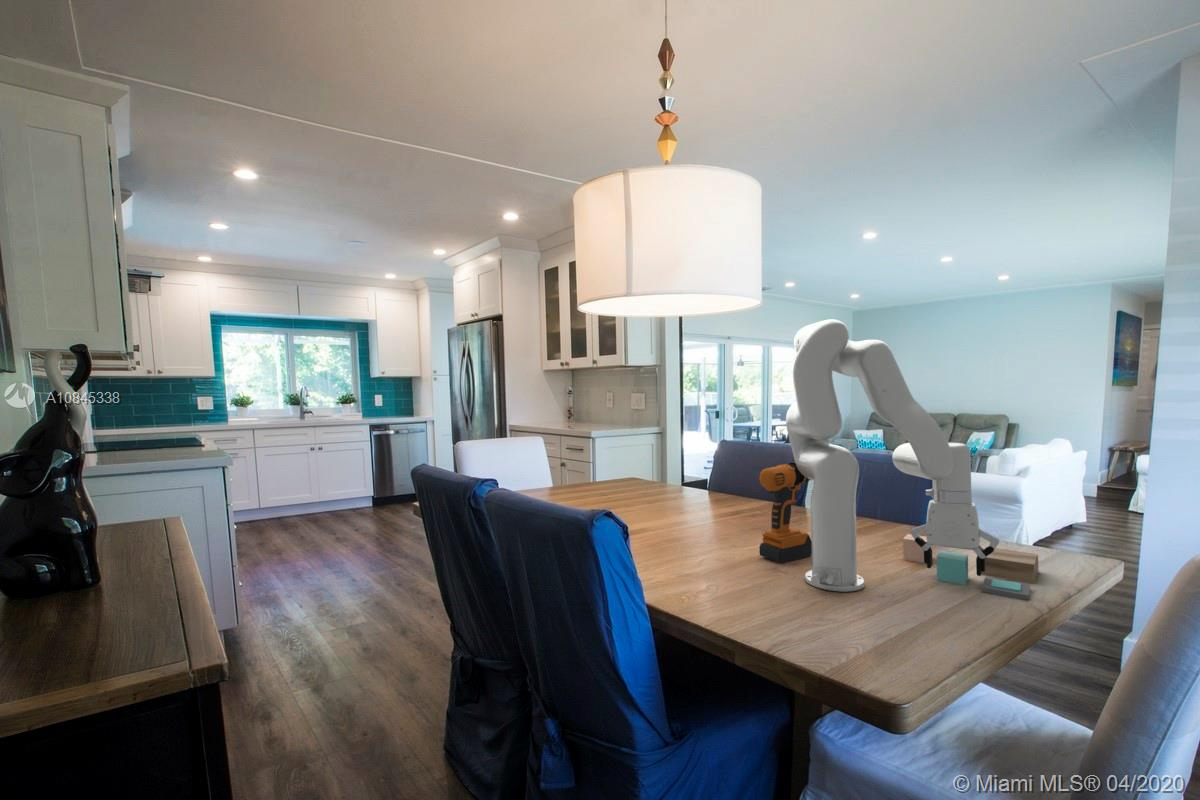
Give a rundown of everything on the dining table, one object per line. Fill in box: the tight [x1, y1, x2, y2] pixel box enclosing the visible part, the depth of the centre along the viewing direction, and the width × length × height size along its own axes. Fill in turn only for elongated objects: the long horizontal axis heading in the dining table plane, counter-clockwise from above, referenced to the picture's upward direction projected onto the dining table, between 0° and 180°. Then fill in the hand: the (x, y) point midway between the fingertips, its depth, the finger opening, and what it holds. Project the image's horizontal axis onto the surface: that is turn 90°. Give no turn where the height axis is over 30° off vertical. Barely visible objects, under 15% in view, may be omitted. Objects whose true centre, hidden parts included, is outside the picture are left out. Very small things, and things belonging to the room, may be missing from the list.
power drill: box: [758, 461, 812, 564], centre depth 146 cm, size 22×7×25 cm, turn 122°
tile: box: [981, 576, 1031, 601], centre depth 118 cm, size 8×8×1 cm
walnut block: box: [981, 547, 1039, 584], centre depth 129 cm, size 10×10×4 cm
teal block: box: [936, 550, 969, 585], centre depth 126 cm, size 6×6×6 cm
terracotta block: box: [902, 533, 933, 564], centre depth 141 cm, size 6×6×6 cm
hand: (953, 570), depth 126 cm, fingers open, 9 cm apart
